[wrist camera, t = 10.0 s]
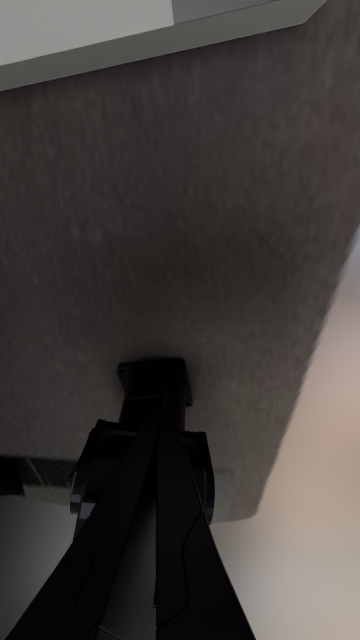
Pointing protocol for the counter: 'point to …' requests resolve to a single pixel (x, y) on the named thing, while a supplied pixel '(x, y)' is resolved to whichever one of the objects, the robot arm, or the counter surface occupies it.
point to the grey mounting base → (125, 31)
